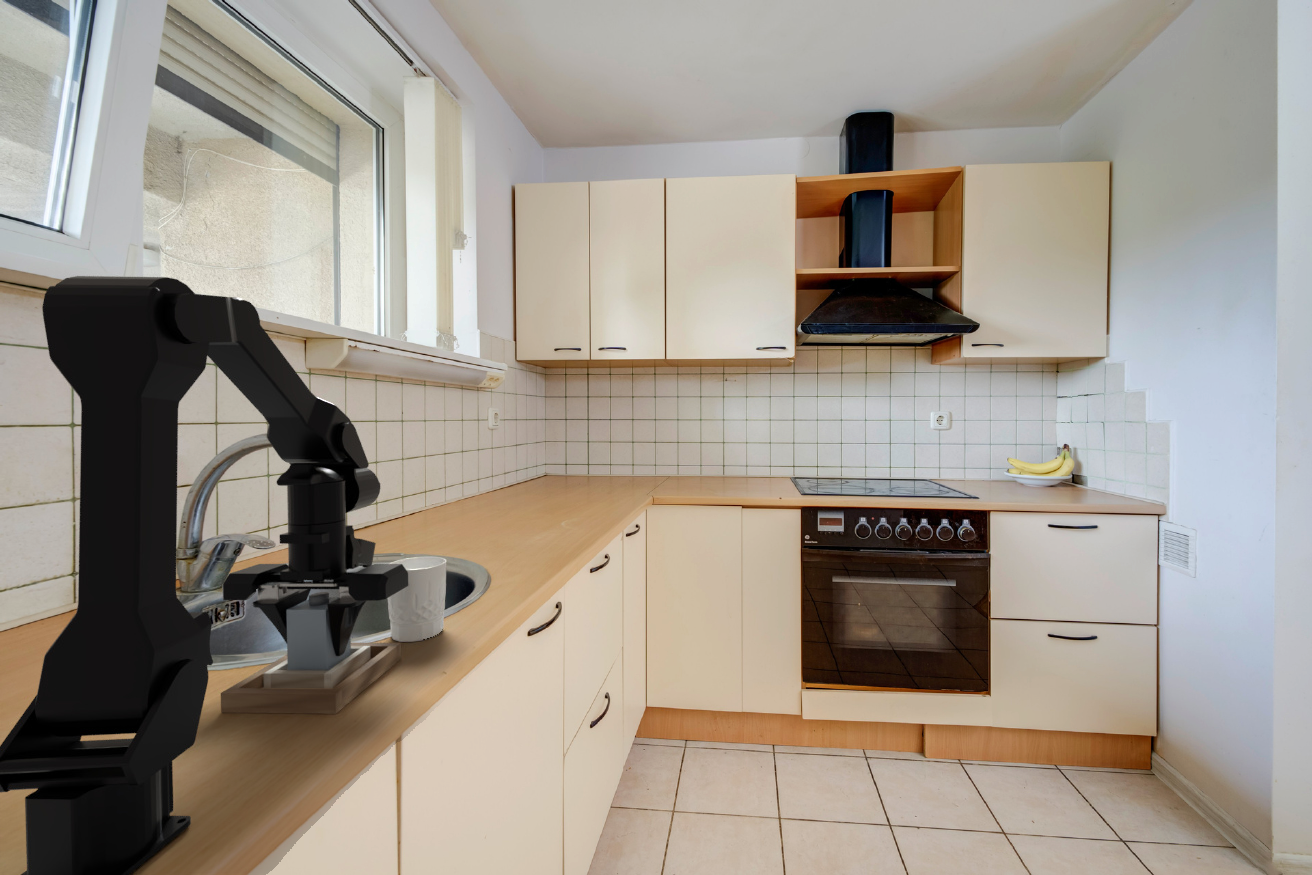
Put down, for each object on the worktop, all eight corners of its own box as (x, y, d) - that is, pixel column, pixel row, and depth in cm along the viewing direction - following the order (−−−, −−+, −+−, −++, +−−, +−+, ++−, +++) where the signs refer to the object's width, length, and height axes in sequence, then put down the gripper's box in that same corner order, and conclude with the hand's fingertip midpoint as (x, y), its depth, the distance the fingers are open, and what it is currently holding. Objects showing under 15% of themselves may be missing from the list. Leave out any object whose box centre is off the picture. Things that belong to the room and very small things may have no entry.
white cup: (415, 620, 81) (414, 554, 81) (459, 626, 79) (458, 558, 78) (373, 640, 74) (372, 567, 73) (420, 647, 71) (419, 572, 71)
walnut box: (335, 713, 55) (335, 693, 55) (221, 712, 55) (220, 691, 55) (401, 658, 68) (400, 642, 68) (307, 657, 68) (307, 641, 68)
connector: (326, 671, 60) (325, 600, 60) (287, 671, 61) (286, 600, 60) (350, 654, 65) (349, 588, 65) (314, 654, 65) (313, 588, 65)
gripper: (428, 510, 70) (430, 629, 70) (288, 510, 71) (291, 628, 71) (382, 525, 59) (384, 666, 59) (216, 526, 60) (219, 665, 60)
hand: (319, 654), depth 63 cm, fingers closed on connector, 4 cm apart
